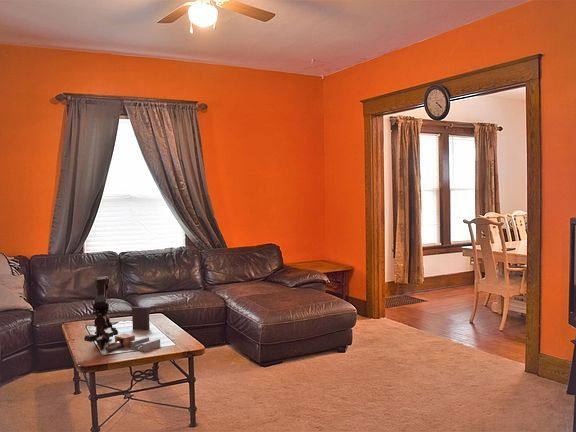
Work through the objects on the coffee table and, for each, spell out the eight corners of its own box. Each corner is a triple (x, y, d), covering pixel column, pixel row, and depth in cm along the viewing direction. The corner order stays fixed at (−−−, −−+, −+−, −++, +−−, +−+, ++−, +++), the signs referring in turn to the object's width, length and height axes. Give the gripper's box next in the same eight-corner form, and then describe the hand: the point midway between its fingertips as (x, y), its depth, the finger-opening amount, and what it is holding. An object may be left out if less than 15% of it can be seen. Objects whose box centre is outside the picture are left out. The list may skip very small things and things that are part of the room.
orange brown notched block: (125, 348, 309) (125, 338, 309) (115, 346, 314) (114, 336, 314) (135, 345, 315) (134, 335, 315) (124, 343, 320) (124, 333, 320)
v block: (144, 351, 302) (144, 344, 302) (131, 348, 308) (130, 341, 308) (160, 346, 312) (160, 339, 312) (147, 343, 318) (146, 336, 318)
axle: (109, 352, 303) (110, 346, 303) (105, 350, 305) (106, 343, 305) (132, 345, 317) (132, 339, 316) (127, 343, 319) (128, 337, 318)
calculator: (150, 329, 354) (149, 306, 353) (146, 330, 349) (146, 308, 349) (135, 328, 357) (134, 306, 356) (132, 330, 352) (131, 307, 352)
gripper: (96, 328, 289) (97, 356, 289) (124, 321, 304) (124, 348, 305) (83, 325, 295) (84, 353, 295) (111, 318, 310) (112, 345, 311)
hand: (102, 350), depth 301 cm, fingers closed
